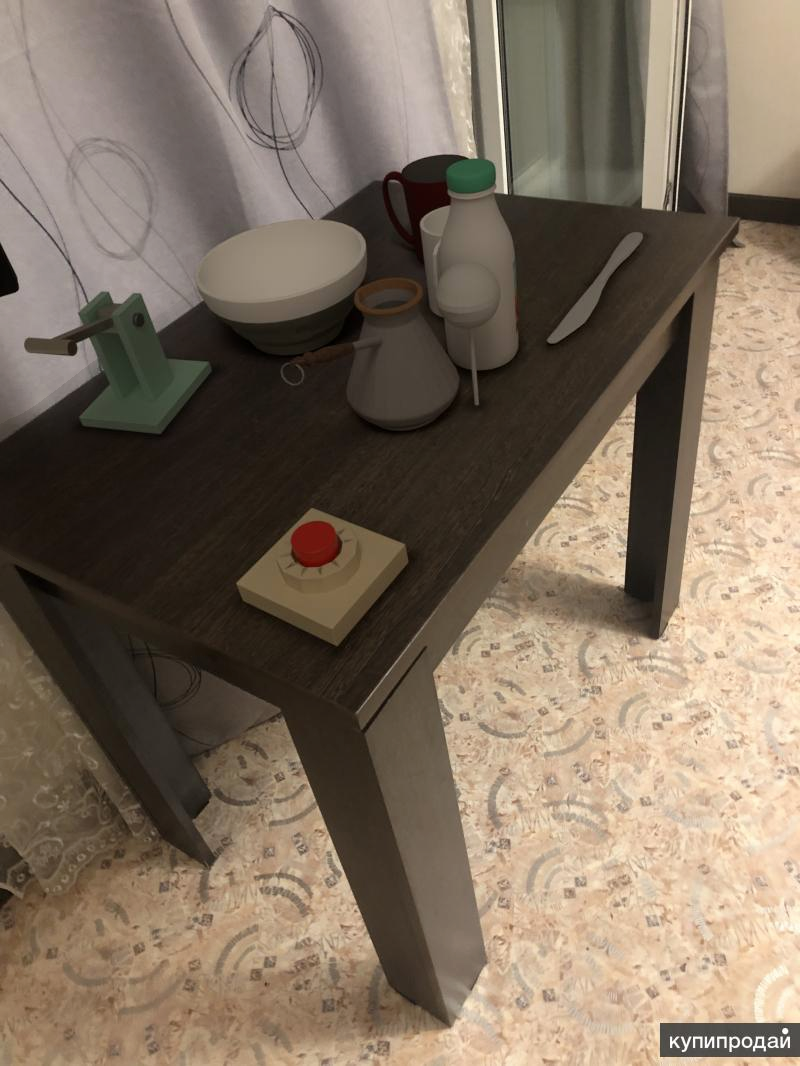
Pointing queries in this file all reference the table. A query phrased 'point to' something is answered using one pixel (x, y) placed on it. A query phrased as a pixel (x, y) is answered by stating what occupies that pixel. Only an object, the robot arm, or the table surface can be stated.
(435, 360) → the coffee pot
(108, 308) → the lever handle
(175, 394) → the green lever stand
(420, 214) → the mug
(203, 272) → the bowl
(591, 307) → the butter knife
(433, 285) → the cup
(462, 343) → the milk bottle
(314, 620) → the block
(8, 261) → the robot arm
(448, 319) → the lollipop
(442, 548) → the table surface
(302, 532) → the button
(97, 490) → the table surface
